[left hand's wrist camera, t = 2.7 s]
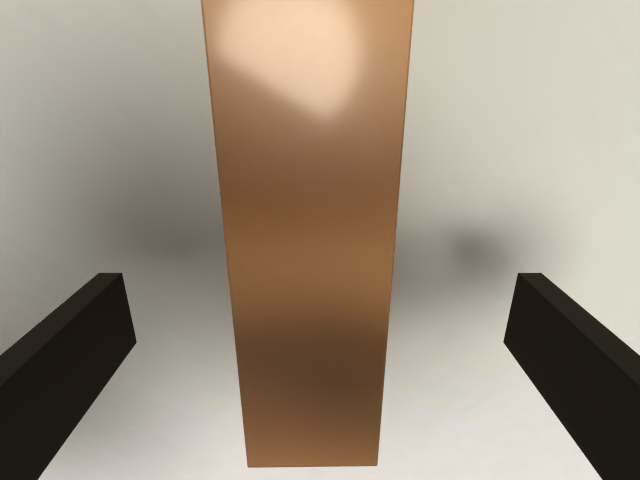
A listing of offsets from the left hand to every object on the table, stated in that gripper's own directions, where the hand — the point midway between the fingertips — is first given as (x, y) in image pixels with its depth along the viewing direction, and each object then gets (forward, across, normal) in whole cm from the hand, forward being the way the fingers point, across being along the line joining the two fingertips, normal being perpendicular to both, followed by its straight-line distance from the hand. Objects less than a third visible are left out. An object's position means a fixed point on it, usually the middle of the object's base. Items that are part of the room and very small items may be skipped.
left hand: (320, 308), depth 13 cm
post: (+6, 0, -31) cm, 32 cm away
